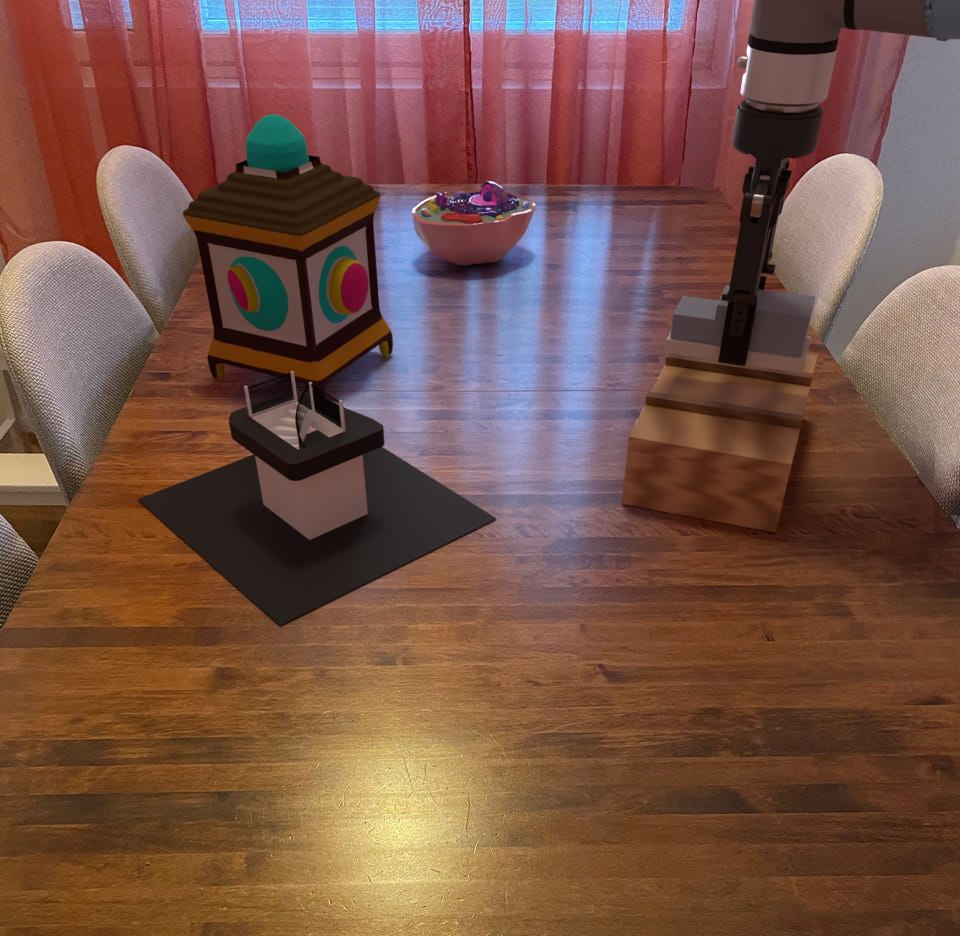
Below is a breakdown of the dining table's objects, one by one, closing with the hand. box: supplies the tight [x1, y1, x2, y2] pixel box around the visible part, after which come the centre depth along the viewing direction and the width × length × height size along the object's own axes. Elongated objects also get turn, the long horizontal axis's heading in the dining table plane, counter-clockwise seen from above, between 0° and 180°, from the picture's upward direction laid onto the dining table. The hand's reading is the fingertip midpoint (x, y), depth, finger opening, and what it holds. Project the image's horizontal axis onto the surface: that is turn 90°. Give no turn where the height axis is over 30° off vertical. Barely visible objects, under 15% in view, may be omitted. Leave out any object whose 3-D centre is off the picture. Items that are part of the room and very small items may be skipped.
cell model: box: [411, 180, 537, 266], centre depth 155 cm, size 17×20×11 cm
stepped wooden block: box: [621, 353, 818, 534], centre depth 108 cm, size 16×26×9 cm, turn 160°
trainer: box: [664, 284, 816, 373], centre depth 100 cm, size 14×6×6 cm, turn 70°
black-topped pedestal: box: [137, 371, 498, 626], centre depth 98 cm, size 28×26×13 cm
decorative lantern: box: [182, 114, 394, 399], centre depth 119 cm, size 20×20×30 cm
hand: (737, 349), depth 102 cm, fingers closed on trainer, 6 cm apart
